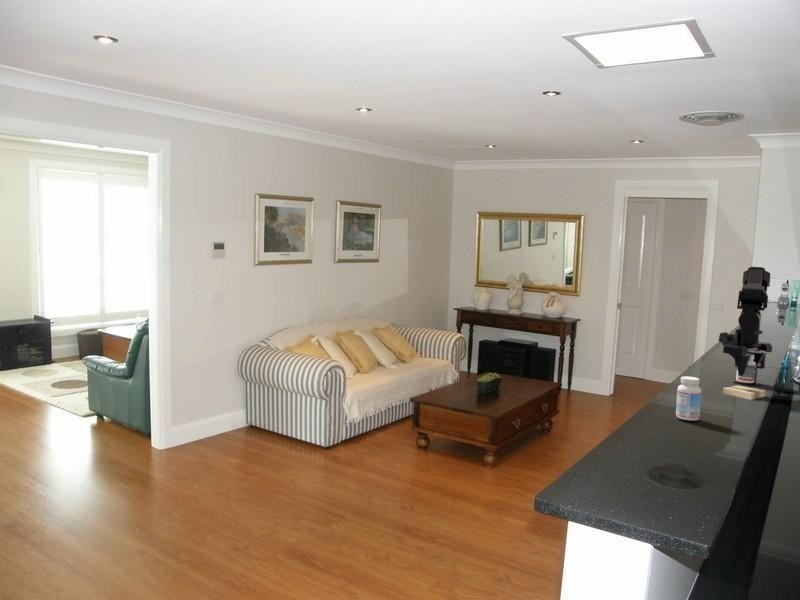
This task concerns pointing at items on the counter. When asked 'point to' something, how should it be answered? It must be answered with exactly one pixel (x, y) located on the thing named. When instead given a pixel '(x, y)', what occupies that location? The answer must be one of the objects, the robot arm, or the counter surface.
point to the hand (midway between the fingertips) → (745, 374)
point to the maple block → (744, 392)
